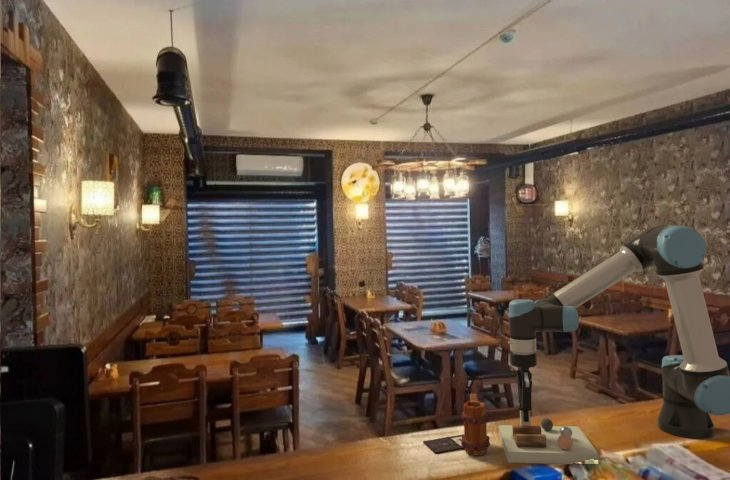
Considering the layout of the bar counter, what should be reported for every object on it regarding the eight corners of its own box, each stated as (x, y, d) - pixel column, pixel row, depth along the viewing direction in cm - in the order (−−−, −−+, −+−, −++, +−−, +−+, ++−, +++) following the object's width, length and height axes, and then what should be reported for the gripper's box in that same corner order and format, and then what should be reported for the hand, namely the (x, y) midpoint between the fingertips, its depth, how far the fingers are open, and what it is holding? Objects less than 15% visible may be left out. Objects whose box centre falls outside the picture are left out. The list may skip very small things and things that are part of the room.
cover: (540, 436, 151) (540, 425, 151) (546, 447, 143) (546, 436, 143) (512, 435, 152) (512, 425, 152) (516, 446, 144) (516, 435, 144)
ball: (570, 436, 150) (570, 424, 150) (573, 441, 147) (573, 429, 147) (558, 436, 151) (558, 424, 151) (561, 441, 147) (560, 428, 147)
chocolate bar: (422, 441, 157) (474, 432, 163) (423, 444, 157) (474, 435, 163) (435, 452, 149) (489, 442, 154) (435, 455, 149) (490, 445, 154)
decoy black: (551, 428, 157) (551, 416, 157) (554, 432, 154) (553, 420, 154) (539, 427, 158) (539, 416, 158) (542, 432, 154) (541, 420, 154)
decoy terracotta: (571, 446, 143) (570, 432, 143) (574, 452, 139) (574, 437, 139) (556, 446, 144) (555, 432, 144) (559, 452, 140) (559, 437, 140)
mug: (491, 460, 143) (489, 406, 143) (461, 458, 145) (459, 405, 145) (489, 439, 158) (487, 391, 158) (462, 438, 159) (460, 390, 159)
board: (578, 436, 158) (578, 426, 158) (599, 464, 138) (598, 453, 138) (498, 434, 161) (498, 425, 161) (507, 462, 141) (507, 451, 141)
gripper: (507, 347, 159) (509, 422, 159) (513, 357, 146) (516, 439, 146) (532, 347, 158) (534, 423, 158) (540, 357, 145) (543, 440, 145)
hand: (525, 430), depth 152 cm, fingers closed
